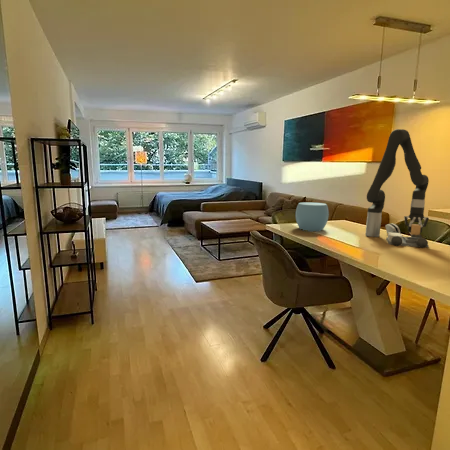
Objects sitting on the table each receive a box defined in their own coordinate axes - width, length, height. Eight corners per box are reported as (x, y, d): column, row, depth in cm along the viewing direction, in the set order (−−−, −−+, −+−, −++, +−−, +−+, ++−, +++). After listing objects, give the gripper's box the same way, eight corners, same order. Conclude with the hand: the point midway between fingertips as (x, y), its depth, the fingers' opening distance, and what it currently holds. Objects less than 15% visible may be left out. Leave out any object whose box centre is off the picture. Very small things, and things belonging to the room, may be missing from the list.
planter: (324, 227, 268) (325, 202, 264) (330, 233, 243) (332, 206, 240) (293, 226, 270) (294, 201, 267) (296, 231, 246) (298, 205, 242)
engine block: (410, 234, 208) (411, 225, 207) (409, 233, 213) (410, 223, 212) (419, 235, 206) (420, 225, 205) (418, 233, 211) (419, 224, 210)
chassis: (389, 245, 207) (390, 235, 206) (385, 238, 225) (386, 230, 224) (429, 248, 199) (430, 238, 198) (422, 241, 218) (423, 233, 217)
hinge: (404, 238, 228) (400, 224, 227) (397, 240, 229) (393, 227, 228) (393, 233, 245) (390, 221, 243) (387, 235, 245) (384, 223, 244)
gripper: (405, 206, 206) (403, 232, 208) (431, 207, 201) (428, 234, 204) (403, 205, 213) (401, 230, 215) (429, 206, 208) (426, 232, 210)
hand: (414, 232), depth 209 cm, fingers closed on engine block, 5 cm apart
